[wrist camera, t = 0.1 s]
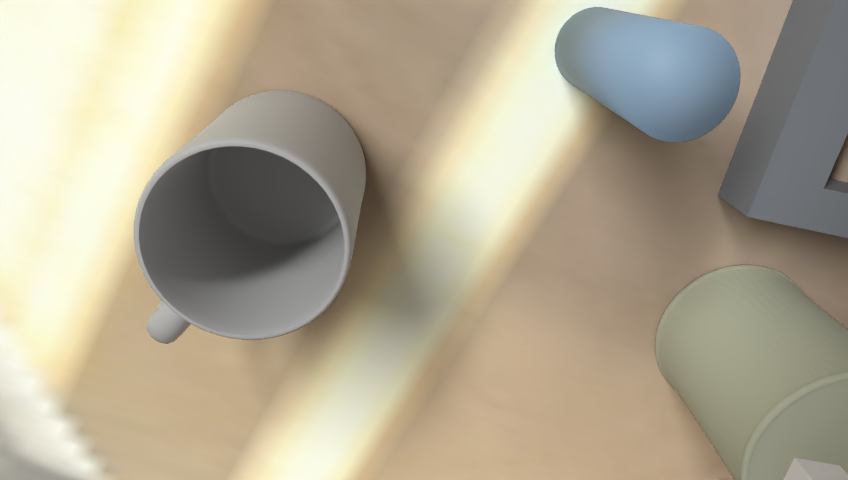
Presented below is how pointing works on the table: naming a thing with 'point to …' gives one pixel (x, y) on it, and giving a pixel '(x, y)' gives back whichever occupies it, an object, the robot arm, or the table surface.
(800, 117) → the socket
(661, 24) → the peg
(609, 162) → the table surface
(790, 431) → the can
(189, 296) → the mug
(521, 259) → the table surface
